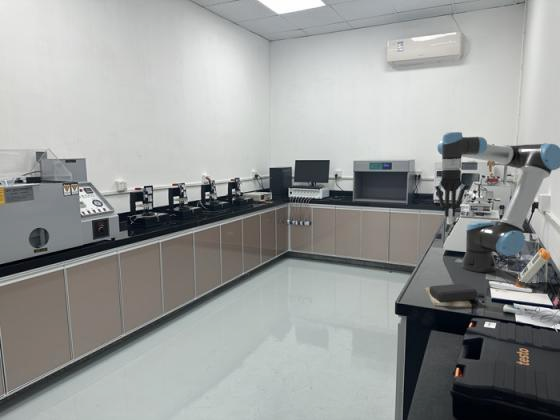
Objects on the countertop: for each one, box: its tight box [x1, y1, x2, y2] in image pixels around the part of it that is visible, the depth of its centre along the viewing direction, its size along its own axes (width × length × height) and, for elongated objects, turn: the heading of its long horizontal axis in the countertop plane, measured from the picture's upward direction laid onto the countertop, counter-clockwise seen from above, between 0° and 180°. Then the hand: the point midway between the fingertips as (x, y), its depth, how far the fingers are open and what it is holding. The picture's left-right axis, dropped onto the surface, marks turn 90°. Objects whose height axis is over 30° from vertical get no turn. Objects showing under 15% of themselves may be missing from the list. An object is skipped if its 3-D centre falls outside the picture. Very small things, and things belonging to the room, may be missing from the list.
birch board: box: [425, 286, 472, 308], centre depth 153 cm, size 13×18×1 cm
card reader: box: [429, 283, 478, 302], centre depth 150 cm, size 9×4×15 cm
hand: (449, 223), depth 167 cm, fingers closed
